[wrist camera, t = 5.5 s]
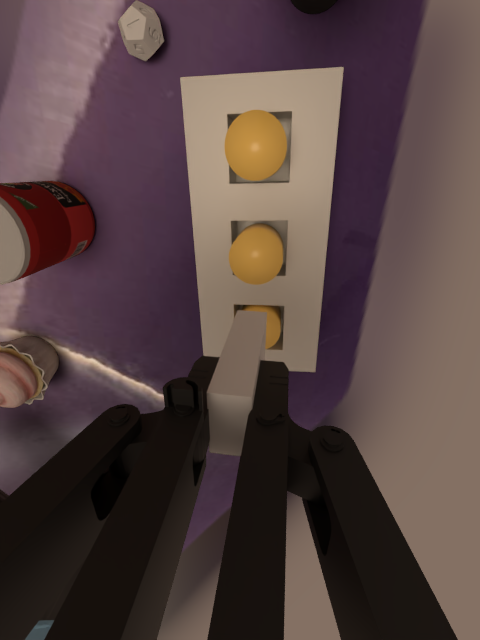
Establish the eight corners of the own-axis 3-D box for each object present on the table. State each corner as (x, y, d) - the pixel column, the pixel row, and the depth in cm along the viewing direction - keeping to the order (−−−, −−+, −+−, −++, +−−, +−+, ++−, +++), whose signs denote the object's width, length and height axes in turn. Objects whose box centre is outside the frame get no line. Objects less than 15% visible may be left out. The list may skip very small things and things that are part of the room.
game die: (175, 53, 28) (163, 41, 25) (138, 71, 29) (123, 61, 26) (159, 3, 26) (144, -16, 24) (121, 23, 27) (103, 7, 25)
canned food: (95, 185, 33) (15, 193, 24) (100, 259, 37) (32, 293, 27) (26, 175, 34) (-81, 178, 24) (37, 249, 37) (-52, 278, 28)
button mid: (282, 271, 30) (281, 285, 27) (236, 270, 31) (229, 284, 27) (284, 223, 28) (283, 231, 25) (235, 223, 29) (227, 231, 25)
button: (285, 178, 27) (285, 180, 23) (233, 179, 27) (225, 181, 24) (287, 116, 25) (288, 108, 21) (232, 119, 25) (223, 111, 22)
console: (311, 348, 38) (315, 372, 34) (213, 343, 40) (204, 366, 35) (334, 83, 27) (343, 67, 23) (196, 91, 29) (180, 77, 24)
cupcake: (72, 337, 42) (15, 383, 33) (68, 390, 46) (16, 443, 38) (5, 314, 42) (-71, 354, 33) (7, 369, 46) (-60, 417, 37)
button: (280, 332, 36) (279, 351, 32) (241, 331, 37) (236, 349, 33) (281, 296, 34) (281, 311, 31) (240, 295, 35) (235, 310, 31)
